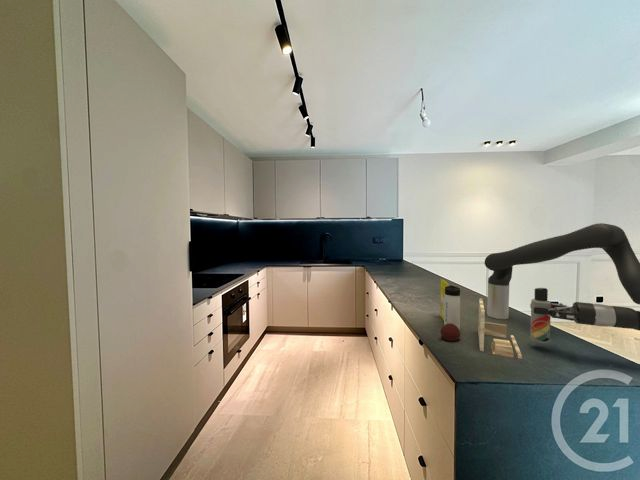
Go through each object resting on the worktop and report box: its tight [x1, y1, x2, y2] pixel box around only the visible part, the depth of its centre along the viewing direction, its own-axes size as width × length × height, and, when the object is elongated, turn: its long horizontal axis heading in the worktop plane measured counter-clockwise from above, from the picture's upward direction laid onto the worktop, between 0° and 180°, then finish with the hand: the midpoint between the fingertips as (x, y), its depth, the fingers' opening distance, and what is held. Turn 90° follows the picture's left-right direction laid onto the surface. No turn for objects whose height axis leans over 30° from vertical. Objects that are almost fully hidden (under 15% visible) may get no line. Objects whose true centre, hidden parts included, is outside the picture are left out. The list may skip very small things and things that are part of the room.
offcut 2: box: [491, 342, 515, 358], centre depth 98 cm, size 6×5×2 cm
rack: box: [477, 297, 523, 360], centre depth 105 cm, size 20×13×16 cm, turn 151°
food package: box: [439, 278, 450, 321], centre depth 133 cm, size 15×1×20 cm, turn 168°
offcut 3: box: [490, 345, 514, 358], centre depth 99 cm, size 7×6×2 cm
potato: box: [440, 323, 461, 342], centre depth 110 cm, size 7×8×7 cm
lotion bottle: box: [530, 287, 552, 344], centre depth 100 cm, size 6×6×20 cm
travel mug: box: [443, 284, 461, 330], centre depth 120 cm, size 6×7×20 cm
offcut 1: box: [492, 338, 514, 352], centre depth 98 cm, size 6×5×2 cm
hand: (532, 308), depth 101 cm, fingers closed on lotion bottle, 5 cm apart
